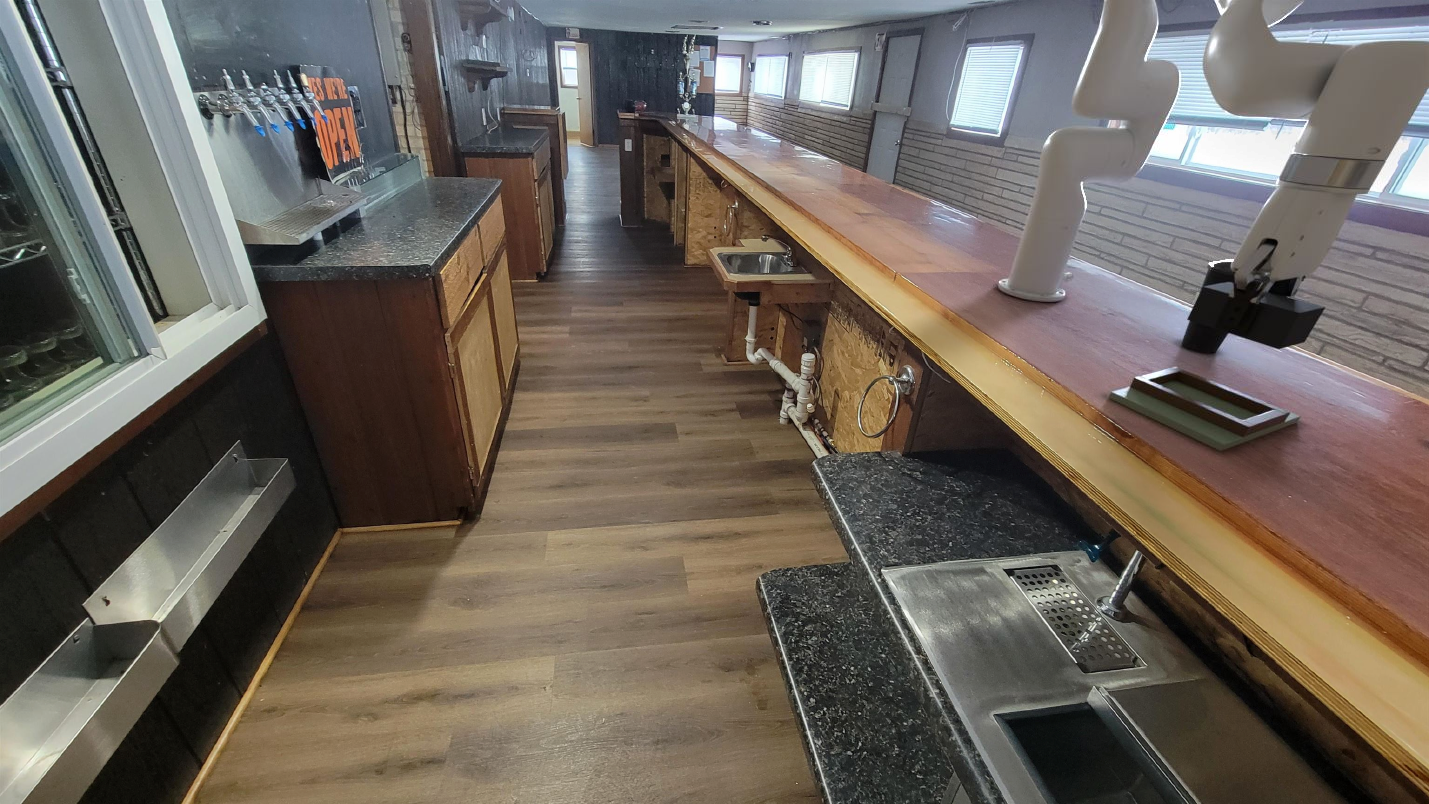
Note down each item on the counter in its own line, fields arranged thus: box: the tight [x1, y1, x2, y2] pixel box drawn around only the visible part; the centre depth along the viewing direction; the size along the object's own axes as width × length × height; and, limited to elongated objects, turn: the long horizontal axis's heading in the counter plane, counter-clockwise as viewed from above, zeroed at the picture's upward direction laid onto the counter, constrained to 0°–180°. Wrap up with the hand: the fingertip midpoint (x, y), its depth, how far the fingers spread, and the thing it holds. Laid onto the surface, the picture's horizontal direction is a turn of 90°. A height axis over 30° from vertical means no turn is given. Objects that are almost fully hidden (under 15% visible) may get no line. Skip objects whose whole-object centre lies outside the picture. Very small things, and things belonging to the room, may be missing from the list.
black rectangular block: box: [1186, 282, 1326, 350], centre depth 70 cm, size 10×6×4 cm, turn 25°
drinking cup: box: [1180, 259, 1270, 355], centre depth 91 cm, size 8×8×20 cm
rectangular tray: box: [1108, 366, 1302, 452], centre depth 76 cm, size 18×14×2 cm
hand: (1245, 326), depth 70 cm, fingers closed on black rectangular block, 6 cm apart
